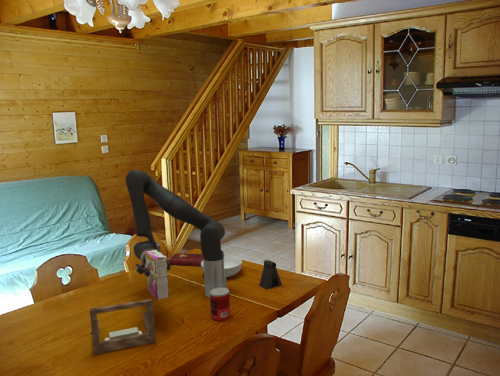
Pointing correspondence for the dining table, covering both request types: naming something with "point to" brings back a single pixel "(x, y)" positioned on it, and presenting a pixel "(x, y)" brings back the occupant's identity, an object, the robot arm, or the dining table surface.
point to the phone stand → (270, 276)
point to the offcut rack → (125, 341)
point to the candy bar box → (157, 274)
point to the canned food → (220, 304)
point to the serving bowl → (229, 265)
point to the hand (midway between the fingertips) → (156, 272)
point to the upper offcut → (123, 333)
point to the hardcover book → (186, 259)
